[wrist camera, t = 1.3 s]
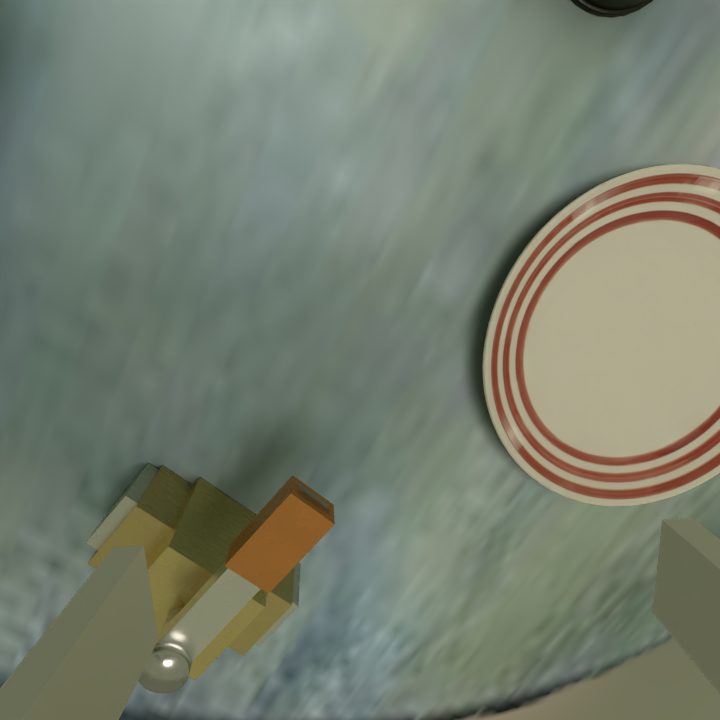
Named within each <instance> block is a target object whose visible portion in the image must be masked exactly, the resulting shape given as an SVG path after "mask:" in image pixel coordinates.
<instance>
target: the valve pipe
mask: <svg viewBox="0 0 720 720" xmlns="http://www.w3.org/2000/svg"><path fill="white" fill-rule="evenodd" d="M255 516H256V515H255V514H254V513H252V512H251V511H249V510H248V509H246V508H245V507H243V506H242V505H240V504H239V503H237V502H236V501H235V500H233V499H232V498H230V497H229V496H227V495H226V494H224V493H223V492H221V491H220V490H218V489H217V488H215V487H214V486H212V485H211V484H209V483H208V482H207V481H205V480H204V479H202V478H201V477H200V478H199V479H198V481H197V482H196V483H195V484H194V485H191V484H190V483H188V482H187V481H185V480H184V479H182V478H181V477H179V476H178V475H176V474H175V473H173V472H172V471H170V470H169V469H167V468H166V467H165V466H162V467H161V468H160V469H157V468H156V467H154V466H153V465H151V464H150V463H148V464H147V466H146V467H145V468H144V469H143V470H142V472H141V473H140V474H139V475H138V476H137V477H136V479H135V480H134V481H133V482H132V483H131V485H130V486H129V487H128V488H127V489H126V491H125V492H124V493H123V494H122V495H121V496H120V498H119V499H118V500H117V501H116V502H115V504H114V505H113V506H112V507H111V509H110V510H109V512H108V513H107V514H106V516H105V517H104V518H103V520H102V521H101V523H100V524H99V525H98V527H97V528H96V529H95V531H94V532H93V534H92V535H91V536H90V538H89V539H88V540H87V542H86V543H87V544H88V545H90V546H92V547H93V548H95V549H97V551H96V552H95V553H94V555H93V556H92V558H91V559H90V561H89V562H88V564H89V565H90V566H92V567H94V568H97V567H98V566H99V565H100V563H101V562H102V561H103V560H104V558H105V557H106V556H107V555H108V553H109V552H110V551H111V550H112V548H114V547H133V546H144V551H145V557H146V563H147V570H148V576H149V582H150V588H151V594H152V600H153V607H154V613H155V619H156V625H157V631H158V635H159V633H160V632H161V630H162V627H163V625H164V622H165V619H166V617H167V615H168V613H169V612H170V611H172V610H174V609H176V608H183V607H184V606H185V605H186V604H187V603H188V602H189V601H190V600H191V599H192V597H193V596H194V595H195V594H196V593H197V592H198V591H199V590H200V589H201V588H202V587H203V585H204V584H205V583H206V582H207V581H208V580H209V579H210V578H211V577H212V576H213V575H214V573H215V572H216V571H217V570H218V569H219V568H220V567H221V566H222V565H223V564H224V563H225V561H226V558H227V555H228V551H229V547H230V544H231V543H232V542H233V540H234V539H235V538H236V537H237V536H238V535H239V534H240V533H241V532H242V531H243V529H244V528H245V527H246V526H247V525H248V524H249V523H250V522H251V521H252V520H253V518H254V517H255ZM299 584H300V563H297V564H296V565H295V567H294V568H293V569H292V570H291V571H290V572H289V573H288V574H287V575H286V576H285V577H284V578H283V579H282V580H281V581H280V582H279V583H278V584H277V585H276V587H275V588H274V589H273V590H272V591H271V592H270V593H269V594H268V593H266V592H265V591H263V590H262V589H260V590H259V591H258V592H257V593H256V594H255V596H254V597H253V598H252V599H251V600H250V601H249V602H248V603H247V604H246V605H245V606H244V607H243V608H242V609H241V610H240V611H239V612H238V614H237V615H236V616H235V617H234V618H233V619H232V620H231V621H230V622H229V623H228V624H227V625H226V626H225V627H224V628H223V629H222V630H221V632H220V633H219V634H218V635H217V636H216V637H215V638H214V639H213V640H212V641H211V642H210V643H209V644H208V645H207V646H206V647H205V648H204V650H203V651H202V652H201V653H200V654H199V655H198V656H197V657H196V658H195V659H194V660H193V661H192V665H191V669H190V672H189V676H188V677H190V678H192V679H194V680H196V679H197V678H198V677H199V676H200V675H201V674H202V673H203V672H204V671H205V670H206V669H207V668H208V667H209V666H210V664H211V663H212V662H213V661H214V660H215V659H216V658H217V657H218V656H219V655H220V654H221V653H222V652H223V651H224V650H225V649H226V648H227V647H230V648H232V649H234V650H235V651H237V652H239V653H240V654H242V655H244V654H245V653H246V652H247V651H248V650H249V649H250V648H251V647H252V646H253V645H254V644H255V645H257V646H260V645H261V644H262V643H263V642H264V641H265V640H266V639H267V638H268V637H269V636H270V635H271V634H272V633H273V632H274V631H275V630H276V629H277V628H278V627H279V626H280V625H281V624H282V623H283V622H284V620H285V619H286V618H287V617H288V616H289V615H290V614H291V613H292V612H293V611H294V610H295V609H296V608H297V607H298V604H299Z"/></svg>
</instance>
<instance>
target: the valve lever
mask: <svg viewBox="0 0 720 720" xmlns="http://www.w3.org/2000/svg"><path fill="white" fill-rule="evenodd" d="M334 524H335V522H334V505H333V504H332V503H330V502H329V501H328V500H326V499H325V498H323V497H322V496H321V495H319V494H318V493H317V492H315V491H314V490H312V489H311V488H310V487H308V486H307V485H305V484H304V483H303V482H301V481H300V480H298V479H297V478H296V477H294V476H292V477H291V478H290V479H289V480H288V481H287V482H286V483H285V484H284V486H283V487H282V488H281V489H280V490H279V491H278V492H277V493H276V494H275V495H274V497H273V498H272V499H271V500H270V501H269V502H268V503H267V504H266V505H265V506H264V508H263V509H262V510H261V511H260V512H259V513H258V514H257V515H256V516H255V517H254V518H253V520H252V521H251V522H250V523H249V524H248V525H247V526H246V527H245V528H244V529H243V531H242V532H241V533H240V534H239V535H238V536H237V537H236V538H235V539H234V540H233V542H232V543H231V544H230V547H229V551H228V555H227V558H226V561H225V563H224V564H223V565H222V566H221V567H220V568H219V569H218V570H217V571H216V572H215V573H214V575H213V576H212V577H211V578H210V579H209V580H208V581H207V582H206V583H205V584H204V585H203V587H202V588H201V589H200V590H199V591H198V592H197V593H196V594H195V595H194V596H193V597H192V599H191V600H190V601H189V602H188V603H187V604H186V605H185V606H184V607H183V608H176V609H174V610H172V611H170V612H169V613H168V615H167V617H166V619H165V622H164V625H163V627H162V630H161V632H160V633H159V635H158V638H159V639H158V641H157V643H156V645H155V647H154V649H153V651H152V653H151V655H150V657H149V659H148V661H147V663H146V665H145V667H144V669H143V671H142V673H141V676H140V678H139V680H138V681H139V682H140V684H141V685H142V686H143V687H144V688H146V689H147V690H149V691H152V692H155V693H170V692H174V691H176V690H178V689H180V688H181V687H182V686H183V685H184V684H185V683H186V681H187V679H188V676H189V672H190V669H191V665H192V661H193V660H194V659H195V658H196V657H197V656H198V655H199V654H200V653H201V652H202V651H203V650H204V648H205V647H206V646H207V645H208V644H209V643H210V642H211V641H212V640H213V639H214V638H215V637H216V636H217V635H218V634H219V633H220V632H221V630H222V629H223V628H224V627H225V626H226V625H227V624H228V623H229V622H230V621H231V620H232V619H233V618H234V617H235V616H236V615H237V614H238V612H239V611H240V610H241V609H242V608H243V607H244V606H245V605H246V604H247V603H248V602H249V601H250V600H251V599H252V598H253V597H254V596H255V594H256V593H257V592H258V591H259V590H260V589H262V590H263V591H265V592H266V593H268V594H269V593H270V592H271V591H272V590H273V589H274V588H275V587H276V585H277V584H278V583H279V582H280V581H281V580H282V579H283V578H284V577H285V576H286V575H287V574H288V573H289V572H290V571H291V570H292V569H293V568H294V567H295V565H296V564H297V563H298V562H299V561H300V560H301V559H302V558H303V557H304V556H305V555H306V554H307V553H308V552H309V551H310V550H311V549H312V548H313V547H314V545H315V544H316V543H317V542H318V541H319V540H320V539H321V538H322V537H323V536H324V535H325V534H326V533H327V532H328V531H329V530H330V529H331V528H332V527H333V525H334Z"/></svg>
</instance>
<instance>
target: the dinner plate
mask: <svg viewBox="0 0 720 720" xmlns="http://www.w3.org/2000/svg"><path fill="white" fill-rule="evenodd" d="M483 385H484V394H485V399H486V404H487V408H488V411H489V415H490V418H491V420H492V423H493V426H494V428H495V430H496V432H497V434H498V437H499V438H500V440H501V442H502V444H503V445H504V447H505V448H506V450H507V451H508V453H509V454H510V455H511V457H512V458H513V459H514V460H515V462H516V463H517V464H518V465H519V466H520V467H521V468H522V469H523V470H524V471H525V472H526V473H527V474H528V475H529V476H530V477H532V478H533V479H534V480H536V481H537V482H539V483H540V484H542V485H543V486H545V487H546V488H548V489H550V490H552V491H554V492H556V493H558V494H560V495H562V496H565V497H567V498H570V499H573V500H576V501H580V502H584V503H589V504H594V505H603V506H629V505H640V504H645V503H650V502H655V501H659V500H663V499H666V498H669V497H672V496H675V495H677V494H680V493H683V492H685V491H687V490H689V489H692V488H694V487H696V486H698V485H700V484H702V483H704V482H705V481H707V480H709V479H710V478H712V477H714V476H715V475H717V474H718V473H720V169H718V168H714V167H709V166H705V165H696V164H667V165H658V166H652V167H647V168H643V169H639V170H635V171H631V172H628V173H626V174H623V175H620V176H617V177H615V178H612V179H610V180H608V181H606V182H603V183H601V184H599V185H598V186H596V187H594V188H592V189H591V190H589V191H587V192H586V193H584V194H582V195H581V196H579V197H578V198H576V199H575V200H574V201H572V202H571V203H569V204H568V205H567V206H566V207H564V208H563V209H562V210H561V211H559V212H558V213H557V214H556V215H555V216H554V217H553V218H552V219H550V220H549V221H548V222H547V223H546V224H545V225H544V226H543V227H542V228H541V229H540V231H539V232H538V233H537V234H536V235H535V236H534V237H533V239H532V240H531V241H530V242H529V244H528V245H527V246H526V247H525V249H524V250H523V252H522V253H521V255H520V256H519V257H518V259H517V261H516V262H515V264H514V265H513V267H512V268H511V270H510V272H509V274H508V276H507V277H506V279H505V281H504V283H503V285H502V288H501V290H500V292H499V294H498V297H497V299H496V302H495V305H494V308H493V311H492V314H491V317H490V320H489V324H488V328H487V333H486V338H485V343H484V351H483Z"/></svg>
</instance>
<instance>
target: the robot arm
mask: <svg viewBox="0 0 720 720" xmlns="http://www.w3.org/2000/svg"><path fill="white" fill-rule="evenodd" d="M652 613H653V614H654V615H655V616H656V618H657V619H658V620H659V621H660V622H661V624H662V625H663V626H664V627H665V628H666V630H667V631H668V632H669V633H670V634H671V636H672V637H673V638H674V639H675V640H676V642H677V643H678V644H679V645H680V646H681V648H682V649H683V650H684V651H685V652H686V653H687V655H688V656H689V657H690V658H691V660H692V661H693V662H694V663H695V664H696V666H697V667H698V668H699V669H700V670H701V672H702V673H703V674H704V675H705V676H706V677H707V679H708V680H709V681H710V682H711V684H713V686H714V687H715V688H716V689H717V691H718V692H719V693H720V539H718V538H717V537H716V536H714V535H713V534H712V533H711V532H709V531H708V530H707V529H705V528H704V527H703V526H702V525H700V524H699V523H698V522H697V521H695V520H694V519H693V518H684V519H664V520H662V526H661V536H660V545H659V555H658V565H657V574H656V584H655V593H654V603H653V612H652ZM158 639H159V638H158V631H157V625H156V619H155V613H154V607H153V600H152V594H151V588H150V582H149V576H148V570H147V563H146V557H145V551H144V546H133V547H114V548H112V550H111V551H110V552H109V553H108V555H107V556H106V557H105V558H104V560H103V561H102V562H101V563H100V565H99V566H98V567H97V568H96V570H95V571H94V572H93V573H92V574H91V576H90V577H89V578H88V579H87V581H86V582H85V583H84V584H83V586H82V587H81V588H80V589H79V591H78V592H77V593H76V594H75V596H74V597H73V598H72V599H71V601H70V602H69V603H68V604H67V606H66V607H65V608H64V609H63V611H62V612H61V613H60V614H59V616H58V617H57V618H56V619H55V621H54V622H53V623H52V624H51V626H50V627H49V628H48V629H47V631H46V632H45V633H44V634H43V636H42V637H41V638H40V639H39V641H38V642H37V643H36V644H35V646H34V647H33V648H32V649H31V651H30V652H29V653H28V654H27V656H26V657H25V658H24V659H23V661H22V662H21V663H20V664H19V665H18V667H17V668H16V669H15V670H14V672H13V673H12V674H11V675H10V677H9V678H8V679H7V680H6V682H5V683H4V684H3V685H2V687H1V688H0V720H119V718H120V716H121V714H122V712H123V710H124V708H125V706H126V704H127V702H128V700H129V698H130V696H131V694H132V692H133V690H134V688H135V686H136V684H137V682H138V680H139V678H140V676H141V673H142V671H143V669H144V667H145V665H146V663H147V661H148V659H149V657H150V655H151V653H152V651H153V649H154V647H155V645H156V643H157V641H158Z"/></svg>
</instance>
